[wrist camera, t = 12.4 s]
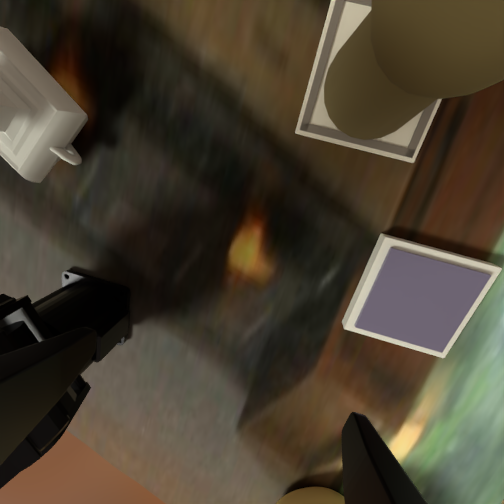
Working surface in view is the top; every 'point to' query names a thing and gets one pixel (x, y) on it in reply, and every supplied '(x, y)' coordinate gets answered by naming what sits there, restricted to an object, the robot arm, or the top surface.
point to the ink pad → (417, 295)
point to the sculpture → (312, 496)
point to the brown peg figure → (413, 62)
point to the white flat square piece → (313, 109)
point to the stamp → (34, 114)
